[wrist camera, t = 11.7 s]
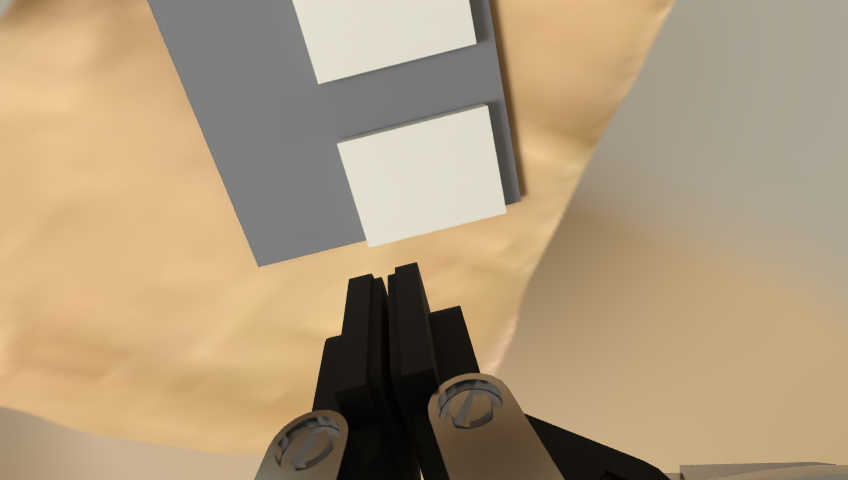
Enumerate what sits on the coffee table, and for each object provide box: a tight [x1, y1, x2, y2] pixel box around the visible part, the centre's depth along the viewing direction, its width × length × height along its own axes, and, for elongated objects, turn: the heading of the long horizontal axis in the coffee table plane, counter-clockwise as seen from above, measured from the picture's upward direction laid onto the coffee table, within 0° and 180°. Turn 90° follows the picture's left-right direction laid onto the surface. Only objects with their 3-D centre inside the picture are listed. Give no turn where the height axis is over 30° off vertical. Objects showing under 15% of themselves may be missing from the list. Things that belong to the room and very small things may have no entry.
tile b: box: [337, 104, 507, 248], centre depth 25 cm, size 6×1×8 cm
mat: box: [147, 0, 521, 267], centre depth 24 cm, size 16×16×1 cm
